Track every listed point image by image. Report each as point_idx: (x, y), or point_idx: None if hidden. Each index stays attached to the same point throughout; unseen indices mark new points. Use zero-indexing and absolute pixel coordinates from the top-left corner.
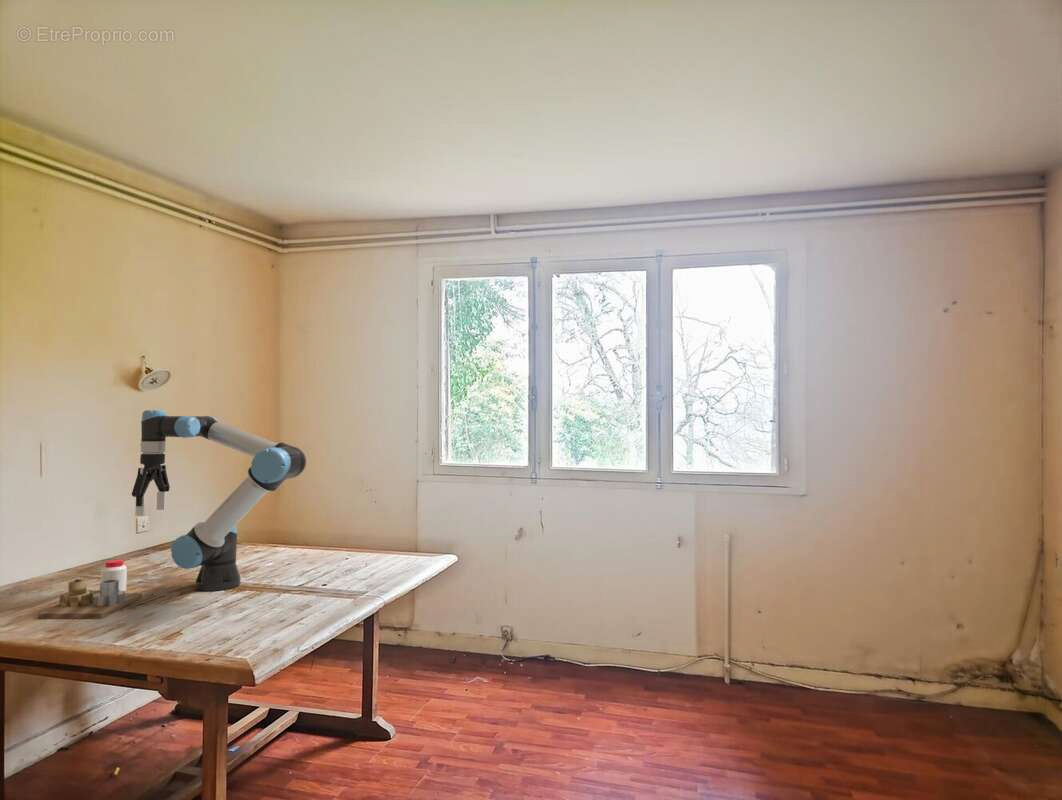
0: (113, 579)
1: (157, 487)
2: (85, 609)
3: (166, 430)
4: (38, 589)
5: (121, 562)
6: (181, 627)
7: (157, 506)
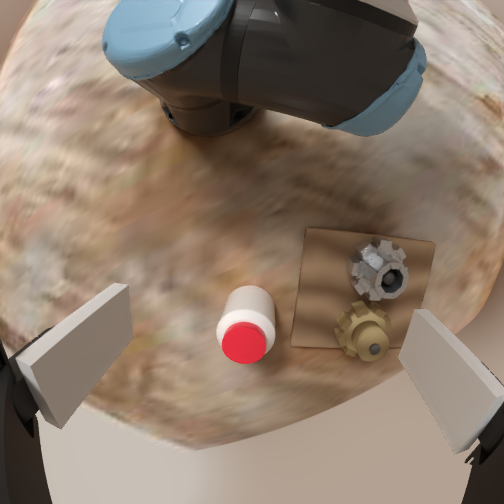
0: (376, 281)
1: (42, 464)
2: (407, 286)
3: None
4: (225, 419)
5: (249, 326)
6: (471, 98)
7: (122, 344)
